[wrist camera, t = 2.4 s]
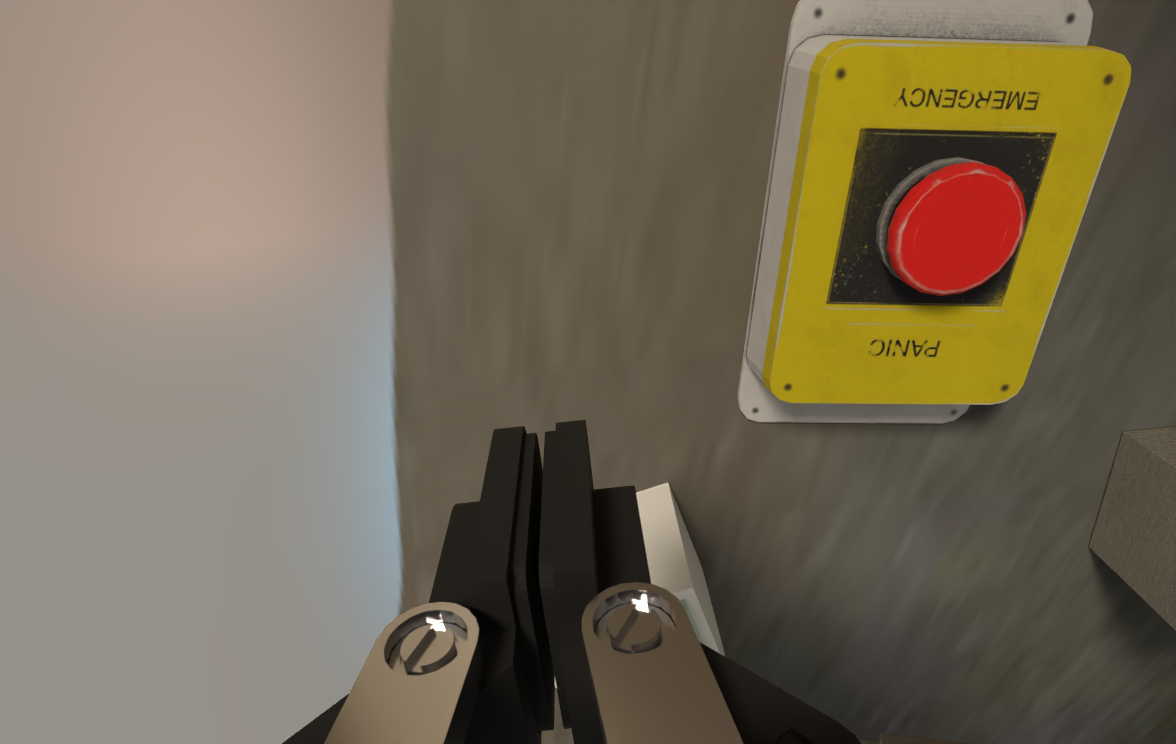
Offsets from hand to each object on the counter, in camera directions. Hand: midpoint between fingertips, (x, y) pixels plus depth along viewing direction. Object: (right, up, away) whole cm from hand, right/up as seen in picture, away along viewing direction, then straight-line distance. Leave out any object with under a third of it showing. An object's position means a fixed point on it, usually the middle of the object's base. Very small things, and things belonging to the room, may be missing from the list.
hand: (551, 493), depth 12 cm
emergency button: (+11, +7, +12) cm, 18 cm away
